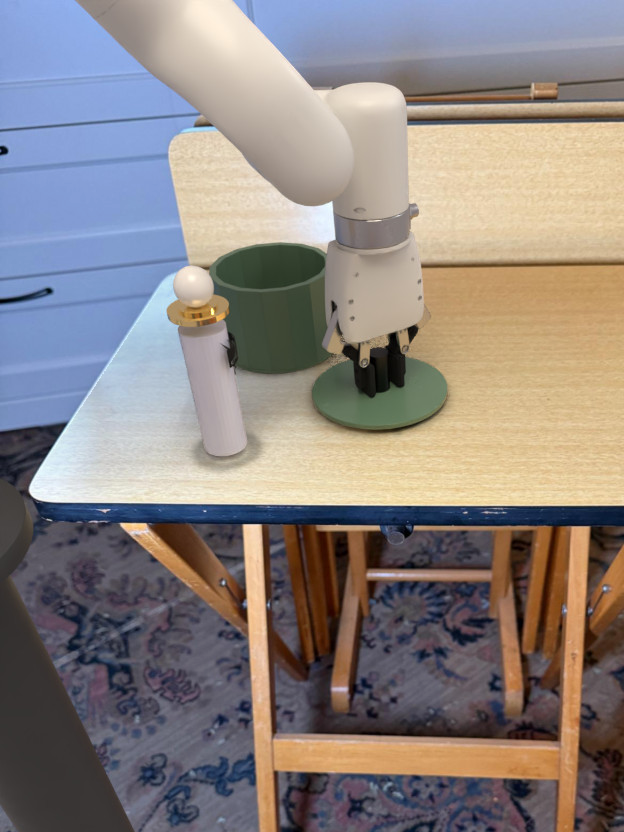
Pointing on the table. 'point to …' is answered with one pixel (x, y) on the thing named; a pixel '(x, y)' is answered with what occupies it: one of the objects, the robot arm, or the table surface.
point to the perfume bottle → (209, 360)
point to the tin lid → (380, 394)
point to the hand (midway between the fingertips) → (380, 385)
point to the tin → (274, 305)
